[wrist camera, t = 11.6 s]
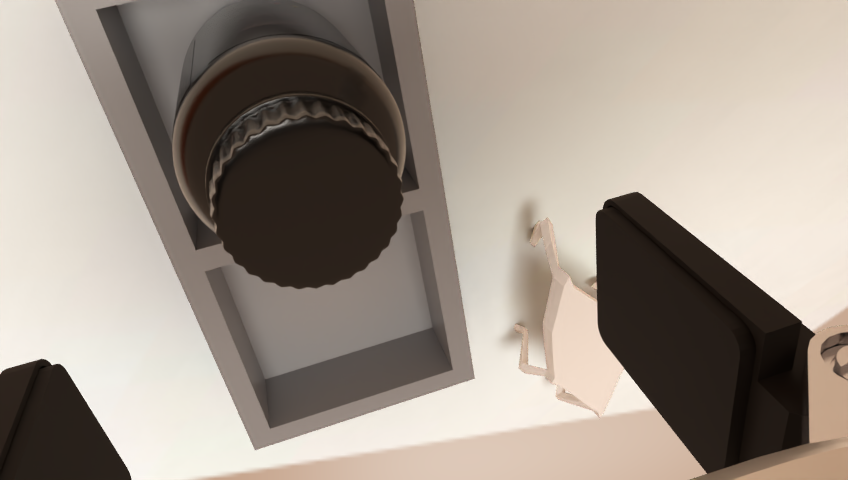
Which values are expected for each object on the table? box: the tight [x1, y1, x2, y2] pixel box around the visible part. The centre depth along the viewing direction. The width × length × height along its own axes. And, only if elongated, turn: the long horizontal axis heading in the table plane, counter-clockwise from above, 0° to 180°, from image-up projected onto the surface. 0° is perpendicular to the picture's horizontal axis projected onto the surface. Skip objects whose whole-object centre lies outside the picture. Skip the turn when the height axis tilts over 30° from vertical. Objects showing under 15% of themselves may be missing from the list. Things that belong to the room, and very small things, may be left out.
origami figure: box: [514, 217, 624, 418], centre depth 35 cm, size 12×8×5 cm
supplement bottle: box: [172, 0, 406, 289], centre depth 21 cm, size 7×7×12 cm
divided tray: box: [55, 0, 475, 450], centre depth 27 cm, size 11×21×4 cm, turn 9°
